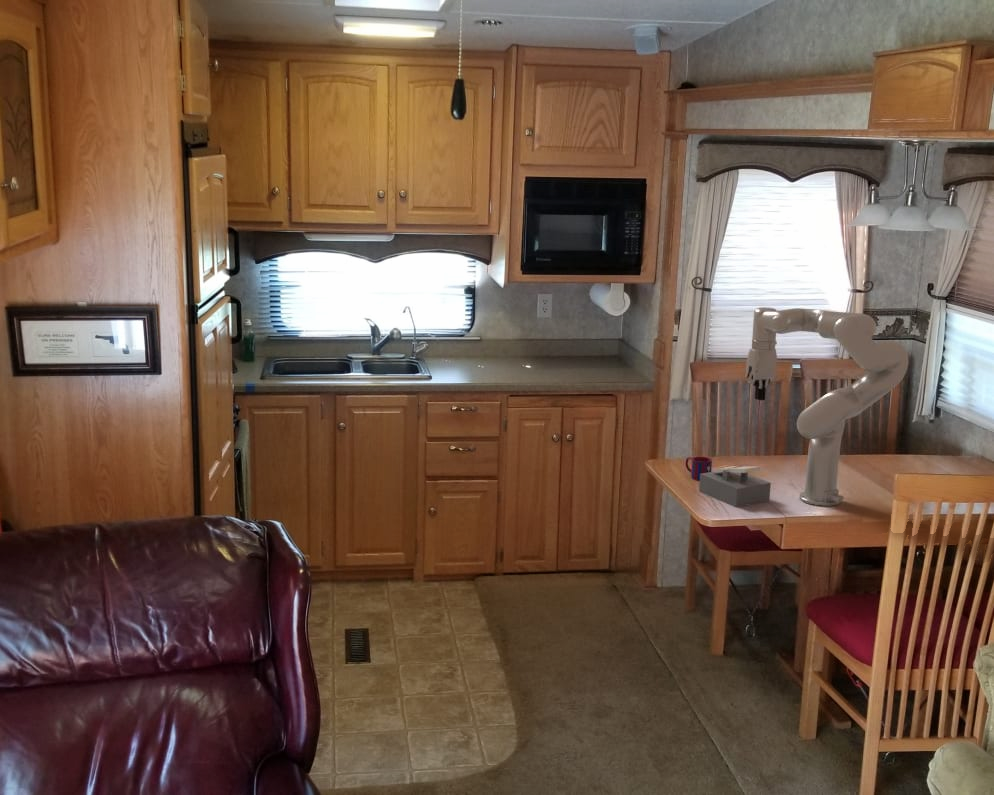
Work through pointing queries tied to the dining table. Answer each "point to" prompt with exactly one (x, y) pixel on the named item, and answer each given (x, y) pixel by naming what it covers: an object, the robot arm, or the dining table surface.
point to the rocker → (735, 469)
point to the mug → (699, 466)
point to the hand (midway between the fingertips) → (759, 399)
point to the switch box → (734, 487)
